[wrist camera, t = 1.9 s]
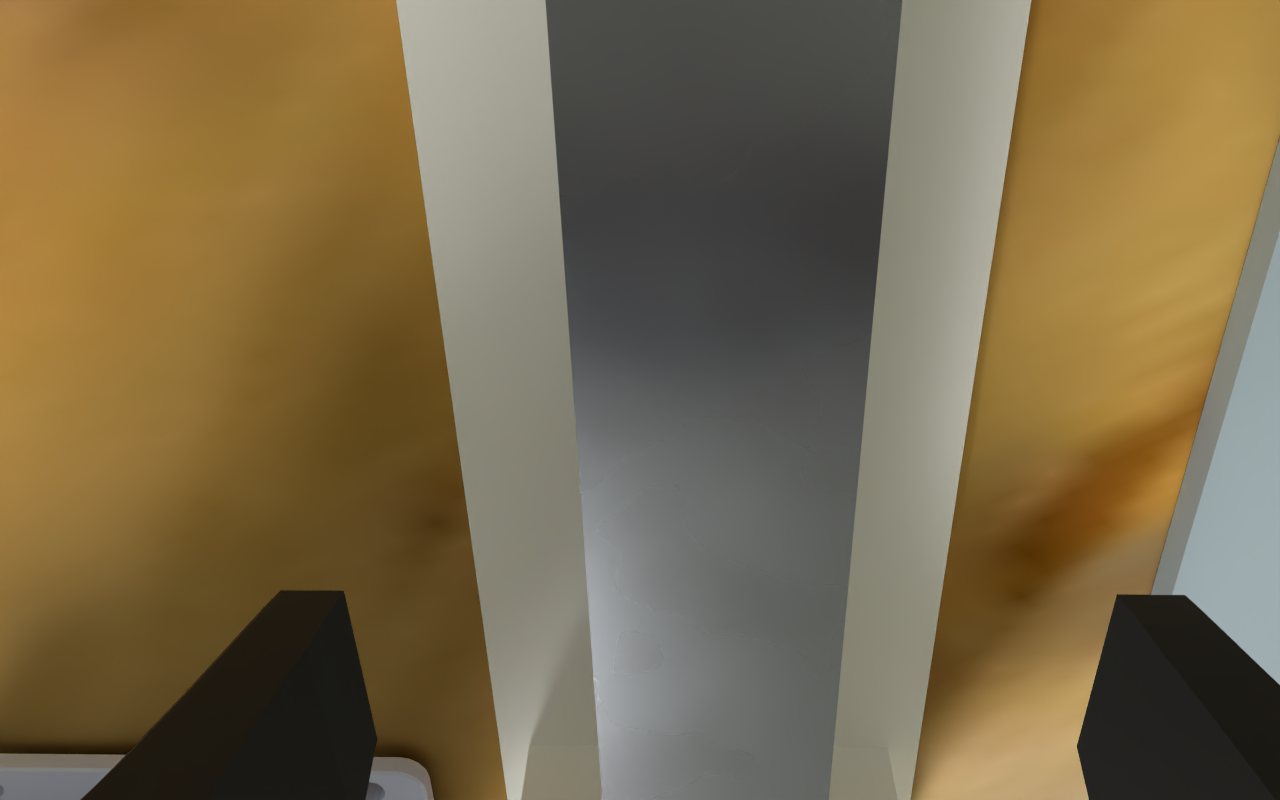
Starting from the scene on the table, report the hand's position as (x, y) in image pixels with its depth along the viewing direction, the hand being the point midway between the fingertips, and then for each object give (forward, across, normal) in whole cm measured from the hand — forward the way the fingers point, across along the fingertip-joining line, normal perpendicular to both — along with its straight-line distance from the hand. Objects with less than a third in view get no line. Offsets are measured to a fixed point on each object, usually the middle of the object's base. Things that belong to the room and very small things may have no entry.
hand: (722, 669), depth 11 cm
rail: (+3, 0, 0) cm, 3 cm away
